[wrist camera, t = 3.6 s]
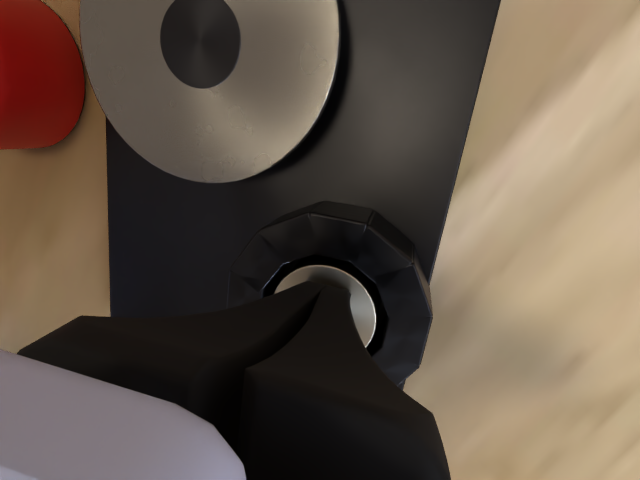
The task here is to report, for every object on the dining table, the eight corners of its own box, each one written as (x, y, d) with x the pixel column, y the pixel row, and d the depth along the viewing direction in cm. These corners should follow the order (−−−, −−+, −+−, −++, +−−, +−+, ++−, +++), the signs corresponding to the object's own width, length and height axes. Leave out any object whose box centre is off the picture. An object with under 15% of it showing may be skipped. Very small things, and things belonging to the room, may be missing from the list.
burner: (92, 159, 12) (84, 160, 12) (81, -132, 10) (71, -140, 10) (318, 203, 11) (316, 205, 11) (366, -122, 9) (364, -131, 8)
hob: (120, 311, 16) (68, 343, 14) (112, -159, 12) (32, -237, 9) (402, 388, 14) (401, 441, 12) (538, -151, 9) (581, -249, 7)
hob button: (283, 323, 14) (265, 348, 12) (294, 238, 13) (276, 254, 11) (371, 345, 13) (365, 375, 12) (389, 259, 12) (386, 278, 11)
